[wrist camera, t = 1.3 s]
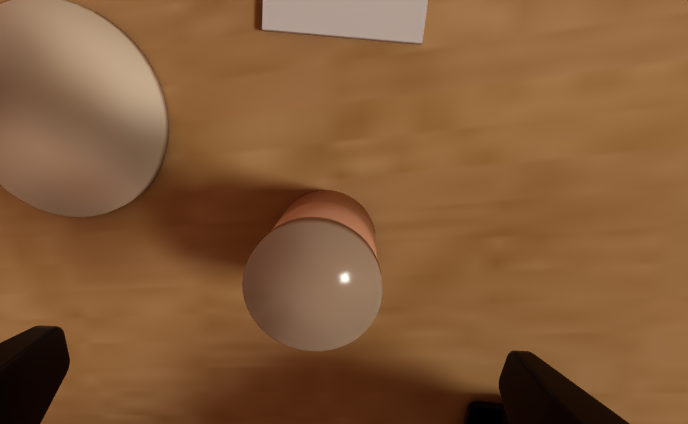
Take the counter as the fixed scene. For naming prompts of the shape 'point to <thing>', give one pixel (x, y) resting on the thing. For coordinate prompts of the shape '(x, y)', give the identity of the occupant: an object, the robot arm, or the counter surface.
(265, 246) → the spice jar
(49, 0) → the coaster
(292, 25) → the pad
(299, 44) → the counter surface
